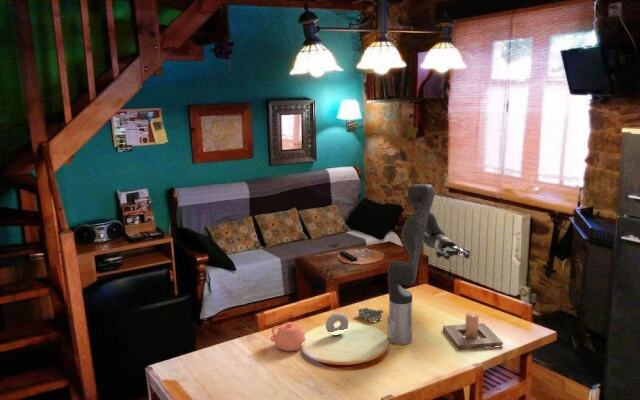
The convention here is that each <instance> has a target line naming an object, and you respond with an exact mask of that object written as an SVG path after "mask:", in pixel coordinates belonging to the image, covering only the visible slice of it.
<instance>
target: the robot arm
mask: <svg viewBox="0 0 640 400" xmlns="http://www.w3.org/2000/svg"><path fill="white" fill-rule="evenodd" d="M434 188H435V187H434V186H433V185H431V184H428V183H427V184H426V183H425V184H417V183H416V184H411V185H409V186H408V189H407V199H408V202H409V204H410V206H411V207H412V209H413V211H414V212H413V213H412V214H411V215H410V216H409V217H408V218H407V219H406V220H405V222H404V224H403V228H402V232H401V239H402V242H403V244H404V245H403V246H405V248H406V250H407V253H408V255H409V261H402V260H401V261H400V260H392V261H390V263H389V265H388V269H387V279H388V297H389V298H388V299H389V302H388V306H389V307H388V309H389V310H388V311H389V313H388V316H387V338H388V340H389V342H390V344H392V343H393V344H394V343H396V344H395V345H400V344H403V345H408V344H410V343H412V340H413V293H412V292H410V291H409V290H408V289H406V288H404V287H403V286H410V287H411V286H413V285H414V284H415V282H416V280H417V273H418V268H419V260H420V255H421V251H422V247H423V242H424V244H425V246H427V247H429V248H430V249H431V248H432V249H435V250H434V252H435V253H434V255H436V257H437V258H442V259H445V260H446V261H449V260H450V258H452V257H463V258H465V260H469V258H470V256H471V255H470V253H471V250H470V249H468V248H467V247H465V246H462V248H461V247H457V245H456V243H455V242H454V241H452V240H451V239H450V238H448V237H446V234H445V232H444V230H443V229H442V228H441V227H440V226H439V224H438V221H437V218H436V216H435V214H434V212H432V211H431V210H432V209H431V208H432V206H433V202H434V198H435V189H434Z"/></svg>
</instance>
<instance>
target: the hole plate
mask: <svg viewBox="0 0 640 400" xmlns="http://www.w3.org/2000/svg"><path fill="white" fill-rule="evenodd" d="M465 328H466V323H463V324H451V325H442V330H444V331H445V332H444V331H443V332H444V334H445V335H446V334H447V335H448V336H447V335H446V336H447V337H448V338H450V339H449V340H450V341H451V343H452V342H453V343H452V344H453V346H455V347H456V349H457V350H458V351H465V350H466V349H467V350H476V349H475V348H481V349H486V348H485V347H495V346H501V345H503V344H504V342H503V341H502V340H501V338H500V337H499V336H497V335H496V334H495V333H494V332H493V331H492V329H491V328H490V327H488V326H487V325H486V323H484V322H483V323H480V322H479V323H478V335H479V336H480V335H481V336H482V337H483V338H482V337H481V336H480V337H481V338H479V337H478V339H465V336H463V334H460V333H465ZM495 348H496V347H495ZM467 350H466V351H467Z"/></svg>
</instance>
